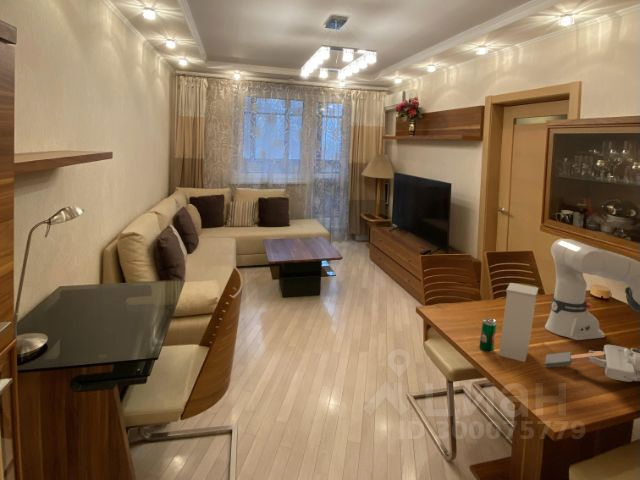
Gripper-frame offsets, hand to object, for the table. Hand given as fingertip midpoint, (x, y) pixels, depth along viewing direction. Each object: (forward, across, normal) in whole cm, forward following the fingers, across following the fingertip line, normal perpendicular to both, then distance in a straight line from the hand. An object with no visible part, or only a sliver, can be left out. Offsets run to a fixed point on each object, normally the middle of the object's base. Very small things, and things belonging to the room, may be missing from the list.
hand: (588, 355), depth 146 cm
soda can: (+33, -2, -7) cm, 34 cm away
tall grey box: (+23, +1, -7) cm, 24 cm away
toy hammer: (+4, 0, -3) cm, 5 cm away
